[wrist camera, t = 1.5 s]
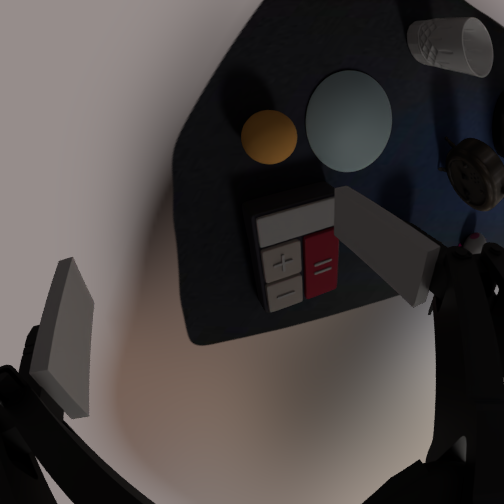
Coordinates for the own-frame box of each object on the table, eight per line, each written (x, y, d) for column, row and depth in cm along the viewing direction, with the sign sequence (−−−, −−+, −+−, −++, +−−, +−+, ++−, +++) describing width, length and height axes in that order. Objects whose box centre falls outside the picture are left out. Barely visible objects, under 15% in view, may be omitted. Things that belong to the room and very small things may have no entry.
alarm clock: (458, 180, 46) (529, 220, 33) (440, 196, 46) (513, 241, 33) (448, 127, 40) (533, 160, 26) (429, 142, 40) (517, 180, 27)
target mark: (382, 64, 32) (383, 64, 31) (395, 155, 39) (396, 156, 39) (293, 81, 30) (294, 81, 30) (317, 185, 37) (318, 185, 37)
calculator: (267, 318, 41) (252, 218, 32) (256, 297, 45) (240, 201, 36) (340, 290, 43) (344, 193, 34) (325, 272, 47) (325, 179, 38)
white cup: (395, 23, 29) (454, 22, 21) (428, 12, 29) (483, 13, 21) (414, 75, 33) (472, 85, 25) (444, 60, 33) (498, 68, 25)
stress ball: (455, 248, 61) (479, 257, 57) (452, 265, 56) (479, 275, 52) (464, 219, 57) (490, 229, 53) (463, 233, 51) (491, 245, 48)
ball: (276, 101, 31) (299, 105, 26) (288, 147, 34) (311, 159, 29) (228, 117, 30) (243, 123, 26) (243, 164, 33) (260, 178, 29)
